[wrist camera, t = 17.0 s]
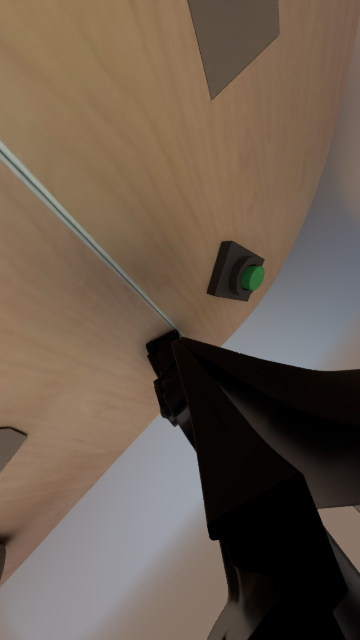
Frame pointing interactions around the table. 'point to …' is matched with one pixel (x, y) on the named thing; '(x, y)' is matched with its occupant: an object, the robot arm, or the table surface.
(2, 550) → the smart speaker
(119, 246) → the table surface
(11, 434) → the flask
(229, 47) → the platform
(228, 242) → the control block
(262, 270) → the button
